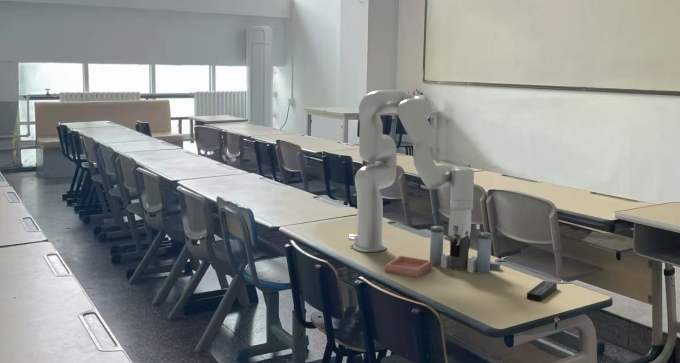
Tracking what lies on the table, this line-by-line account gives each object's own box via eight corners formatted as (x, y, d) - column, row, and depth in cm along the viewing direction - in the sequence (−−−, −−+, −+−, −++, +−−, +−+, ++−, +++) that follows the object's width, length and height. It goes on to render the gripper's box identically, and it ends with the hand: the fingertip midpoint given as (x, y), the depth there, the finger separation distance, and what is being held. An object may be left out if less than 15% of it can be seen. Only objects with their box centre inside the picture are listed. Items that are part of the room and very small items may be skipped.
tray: (385, 271, 230) (385, 264, 229) (400, 262, 240) (400, 255, 240) (417, 277, 224) (418, 270, 223) (431, 267, 234) (432, 260, 234)
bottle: (467, 270, 231) (469, 227, 228) (450, 269, 232) (451, 226, 230) (468, 265, 237) (469, 223, 234) (451, 264, 238) (452, 222, 235)
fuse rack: (422, 264, 238) (423, 227, 236) (432, 258, 246) (433, 222, 243) (492, 275, 226) (494, 236, 224) (500, 268, 233) (501, 231, 231)
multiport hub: (526, 300, 204) (526, 292, 204) (543, 287, 216) (543, 280, 215) (540, 303, 202) (541, 295, 201) (556, 290, 213) (557, 283, 213)
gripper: (460, 198, 240) (458, 245, 243) (441, 207, 225) (440, 257, 228) (480, 200, 236) (478, 248, 239) (463, 210, 221) (461, 260, 224)
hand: (459, 252), depth 233 cm, fingers open, 9 cm apart
